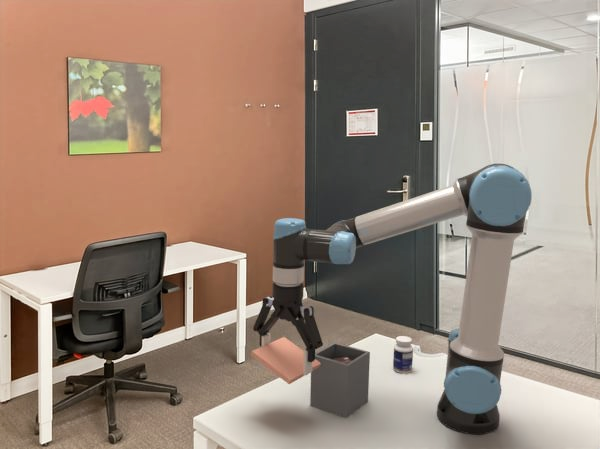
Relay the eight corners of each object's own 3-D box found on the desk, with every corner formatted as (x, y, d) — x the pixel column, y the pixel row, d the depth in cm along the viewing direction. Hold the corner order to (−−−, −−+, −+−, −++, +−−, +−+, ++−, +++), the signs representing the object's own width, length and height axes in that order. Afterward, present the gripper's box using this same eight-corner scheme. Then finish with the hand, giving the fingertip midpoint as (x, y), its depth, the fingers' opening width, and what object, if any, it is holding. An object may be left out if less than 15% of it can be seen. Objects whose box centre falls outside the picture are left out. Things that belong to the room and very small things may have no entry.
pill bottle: (389, 367, 172) (391, 336, 171) (406, 365, 174) (408, 334, 172) (398, 374, 167) (399, 343, 165) (415, 372, 169) (417, 341, 167)
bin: (368, 401, 150) (369, 352, 148) (346, 418, 141) (348, 365, 139) (332, 390, 157) (334, 342, 154) (310, 405, 148) (311, 354, 145)
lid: (318, 370, 142) (321, 363, 141) (287, 387, 132) (290, 380, 131) (281, 343, 148) (283, 336, 147) (249, 358, 138) (252, 351, 137)
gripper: (339, 288, 132) (335, 374, 136) (259, 271, 146) (257, 349, 150) (321, 295, 126) (318, 385, 130) (239, 276, 140) (239, 358, 144)
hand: (286, 366), depth 140 cm, fingers closed on lid, 12 cm apart
